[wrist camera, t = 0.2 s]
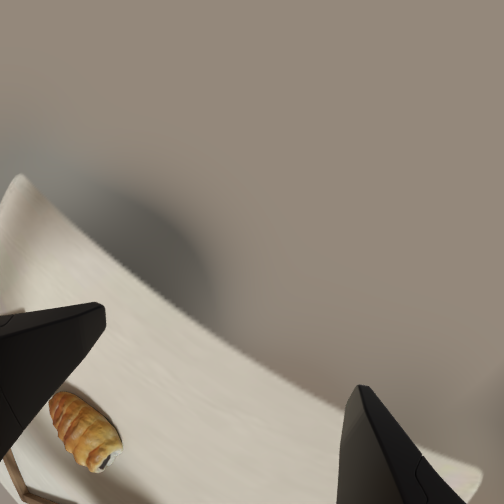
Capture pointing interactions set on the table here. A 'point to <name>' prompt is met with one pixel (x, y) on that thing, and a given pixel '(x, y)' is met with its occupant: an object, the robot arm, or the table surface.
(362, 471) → the robot arm
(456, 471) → the table surface
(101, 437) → the pastry
